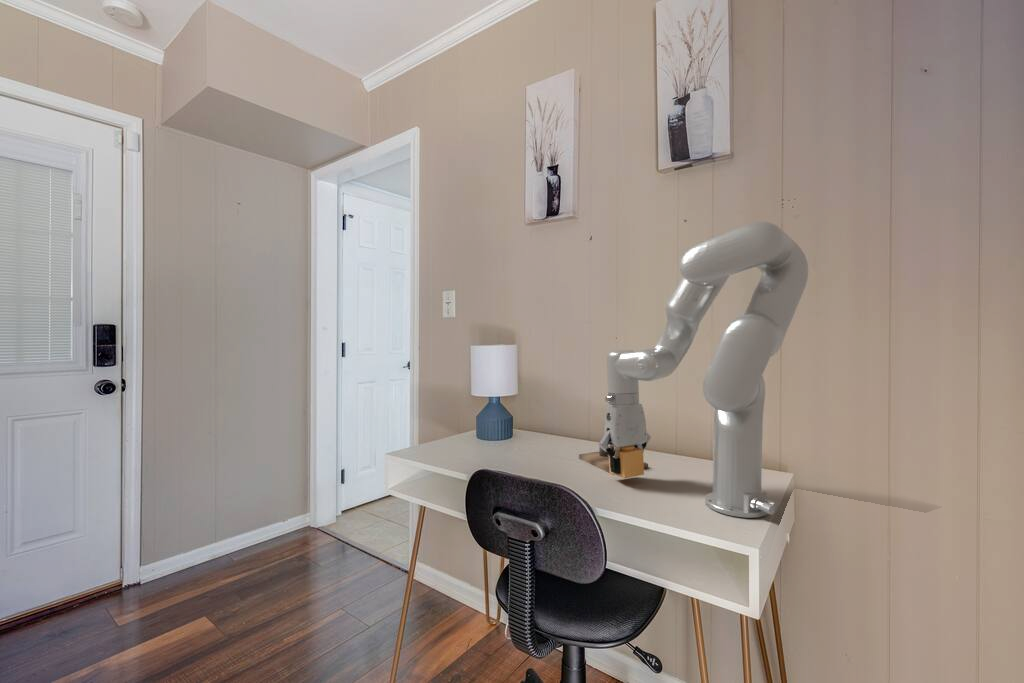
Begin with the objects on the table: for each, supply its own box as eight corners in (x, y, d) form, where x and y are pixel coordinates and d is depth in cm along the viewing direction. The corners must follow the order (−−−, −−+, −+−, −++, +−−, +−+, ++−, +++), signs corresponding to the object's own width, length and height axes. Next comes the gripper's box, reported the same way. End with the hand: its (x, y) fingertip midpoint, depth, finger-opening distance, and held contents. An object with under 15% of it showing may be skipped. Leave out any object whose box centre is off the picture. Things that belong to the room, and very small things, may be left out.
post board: (648, 468, 128) (648, 443, 128) (612, 474, 123) (612, 449, 123) (612, 453, 143) (612, 431, 142) (579, 458, 137) (579, 435, 137)
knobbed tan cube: (644, 474, 116) (642, 445, 116) (624, 478, 113) (623, 448, 113) (628, 468, 121) (627, 441, 121) (609, 472, 119) (608, 444, 119)
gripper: (604, 404, 110) (607, 480, 110) (660, 397, 117) (663, 468, 117) (586, 401, 117) (589, 472, 117) (640, 394, 124) (643, 462, 124)
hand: (626, 470), depth 117 cm, fingers closed on knobbed tan cube, 6 cm apart
